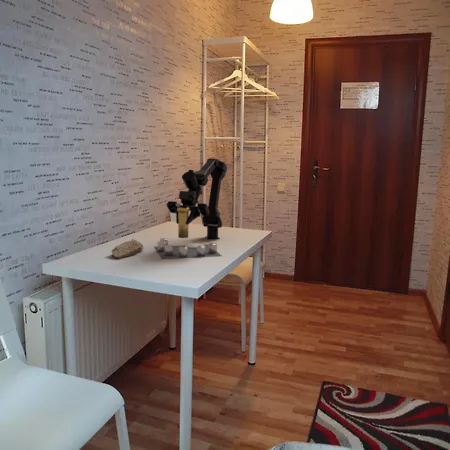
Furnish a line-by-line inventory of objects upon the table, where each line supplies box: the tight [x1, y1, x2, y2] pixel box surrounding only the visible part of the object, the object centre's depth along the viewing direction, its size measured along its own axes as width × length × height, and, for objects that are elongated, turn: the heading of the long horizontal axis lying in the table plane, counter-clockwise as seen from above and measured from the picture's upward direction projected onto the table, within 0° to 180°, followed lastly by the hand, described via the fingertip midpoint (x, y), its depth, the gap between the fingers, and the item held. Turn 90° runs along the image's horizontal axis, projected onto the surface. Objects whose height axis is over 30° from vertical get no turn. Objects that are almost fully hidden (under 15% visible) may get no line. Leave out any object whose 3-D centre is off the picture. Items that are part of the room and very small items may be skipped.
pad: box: [185, 242, 205, 249], centre depth 207 cm, size 9×9×1 cm
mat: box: [153, 243, 223, 260], centre depth 197 cm, size 24×26×1 cm
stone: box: [111, 238, 144, 260], centre depth 192 cm, size 21×6×10 cm
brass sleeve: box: [177, 207, 191, 239], centre depth 193 cm, size 5×5×13 cm
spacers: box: [157, 237, 218, 259], centre depth 194 cm, size 16×28×4 cm, turn 70°
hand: (182, 223), depth 192 cm, fingers closed on brass sleeve, 4 cm apart
